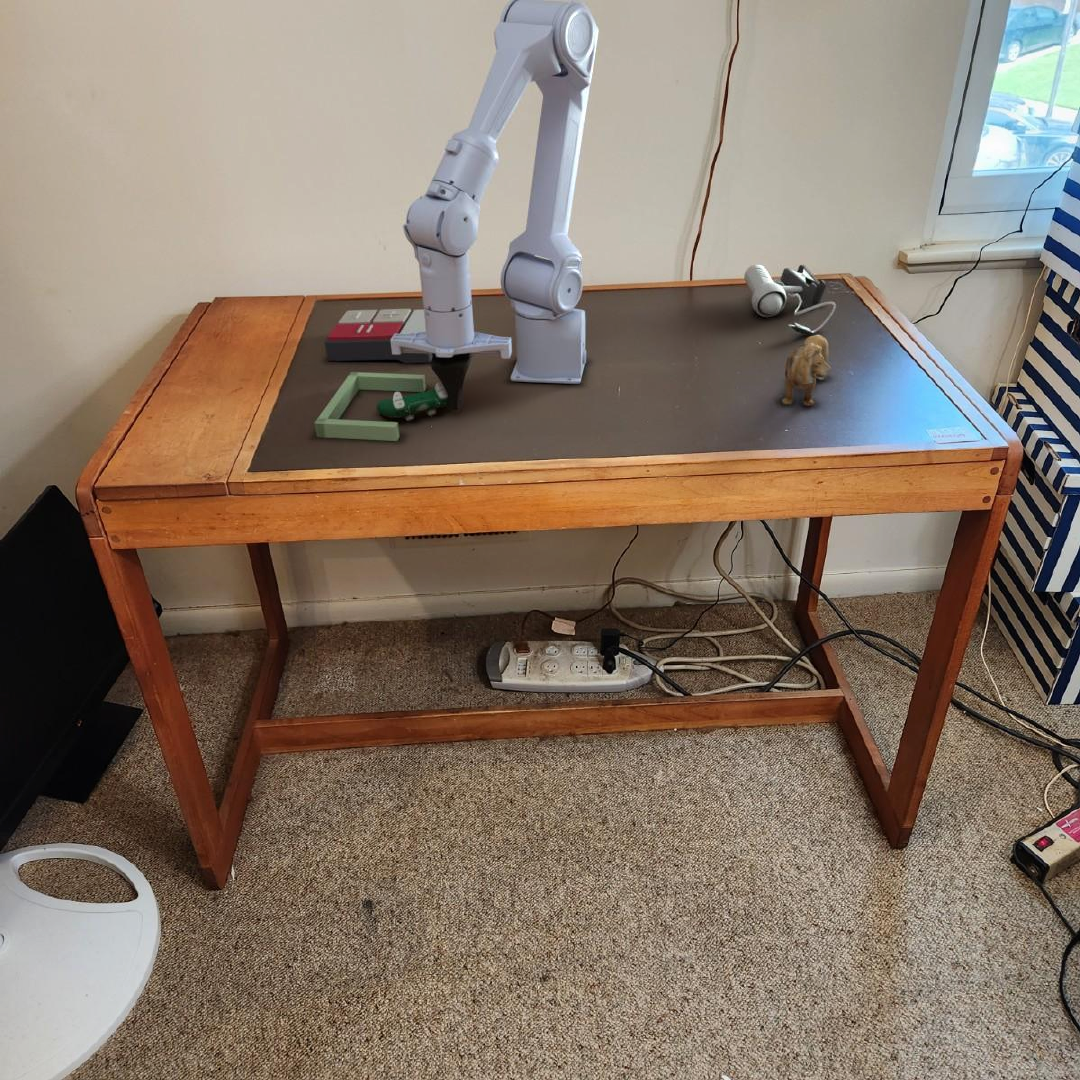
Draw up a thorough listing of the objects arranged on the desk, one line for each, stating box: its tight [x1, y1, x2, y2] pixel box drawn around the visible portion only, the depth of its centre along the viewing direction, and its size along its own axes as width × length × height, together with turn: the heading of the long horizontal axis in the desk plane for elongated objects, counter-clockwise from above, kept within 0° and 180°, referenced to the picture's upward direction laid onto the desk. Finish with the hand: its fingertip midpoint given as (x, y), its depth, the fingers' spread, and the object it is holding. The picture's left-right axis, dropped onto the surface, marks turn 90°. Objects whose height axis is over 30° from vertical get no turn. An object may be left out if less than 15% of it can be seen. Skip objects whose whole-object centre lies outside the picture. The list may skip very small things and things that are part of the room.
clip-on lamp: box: [743, 263, 837, 337], centre depth 136 cm, size 12×6×18 cm
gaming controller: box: [376, 381, 451, 422], centre depth 113 cm, size 9×4×6 cm
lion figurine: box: [781, 334, 832, 407], centre depth 114 cm, size 15×5×9 cm, turn 163°
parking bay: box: [314, 371, 427, 442], centre depth 115 cm, size 10×14×2 cm
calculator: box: [323, 308, 432, 364], centre depth 131 cm, size 11×4×15 cm
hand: (456, 407), depth 113 cm, fingers closed
